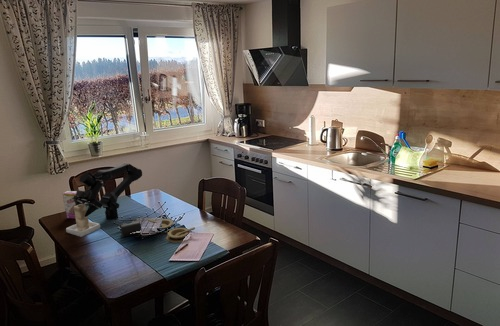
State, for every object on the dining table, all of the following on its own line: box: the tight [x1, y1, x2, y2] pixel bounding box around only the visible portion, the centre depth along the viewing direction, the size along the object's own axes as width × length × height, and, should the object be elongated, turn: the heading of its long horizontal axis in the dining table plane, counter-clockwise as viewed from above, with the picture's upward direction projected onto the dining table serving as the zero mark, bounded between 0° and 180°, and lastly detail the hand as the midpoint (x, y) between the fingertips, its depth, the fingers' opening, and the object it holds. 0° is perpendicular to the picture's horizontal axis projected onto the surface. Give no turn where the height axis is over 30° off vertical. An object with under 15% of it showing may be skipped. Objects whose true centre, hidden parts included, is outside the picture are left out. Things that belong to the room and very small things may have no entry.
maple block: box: [74, 204, 89, 231], centre depth 211 cm, size 4×4×14 cm
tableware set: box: [147, 218, 196, 244], centre depth 206 cm, size 30×20×6 cm, turn 43°
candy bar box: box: [62, 190, 86, 220], centre depth 229 cm, size 11×5×16 cm, turn 80°
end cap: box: [119, 220, 142, 238], centre depth 204 cm, size 10×7×7 cm
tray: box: [65, 220, 101, 238], centre depth 212 cm, size 13×13×2 cm
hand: (79, 215), depth 209 cm, fingers open, 9 cm apart
